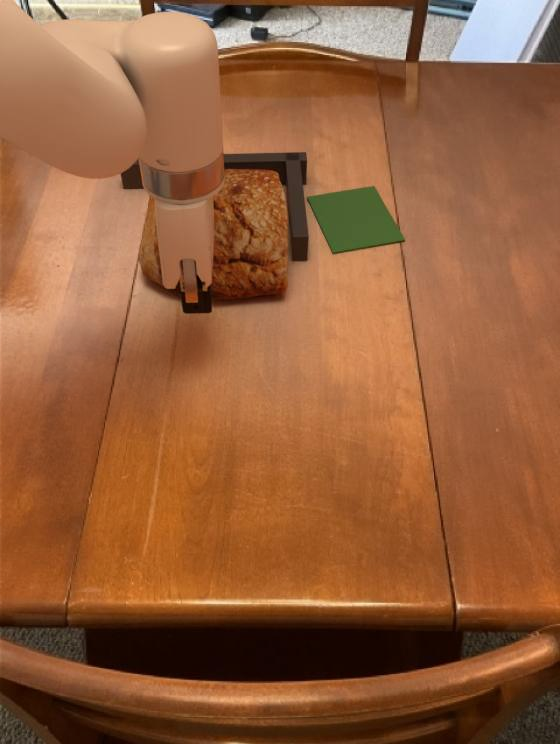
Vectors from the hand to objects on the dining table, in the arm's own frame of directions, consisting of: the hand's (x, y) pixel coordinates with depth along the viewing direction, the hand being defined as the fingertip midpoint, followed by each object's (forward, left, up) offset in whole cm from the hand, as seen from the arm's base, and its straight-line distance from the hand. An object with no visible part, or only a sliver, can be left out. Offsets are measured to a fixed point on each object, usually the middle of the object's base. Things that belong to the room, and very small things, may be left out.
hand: (197, 308), depth 75 cm
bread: (+1, +15, -5) cm, 16 cm away
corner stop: (+1, +22, -5) cm, 22 cm away
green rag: (+20, +21, -5) cm, 29 cm away
